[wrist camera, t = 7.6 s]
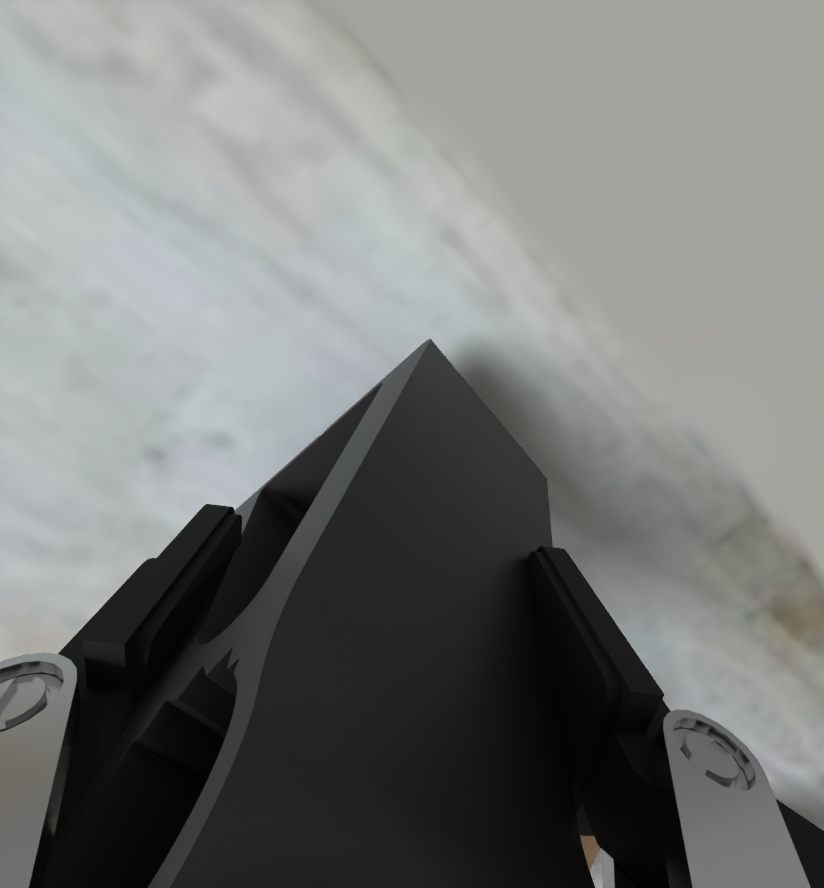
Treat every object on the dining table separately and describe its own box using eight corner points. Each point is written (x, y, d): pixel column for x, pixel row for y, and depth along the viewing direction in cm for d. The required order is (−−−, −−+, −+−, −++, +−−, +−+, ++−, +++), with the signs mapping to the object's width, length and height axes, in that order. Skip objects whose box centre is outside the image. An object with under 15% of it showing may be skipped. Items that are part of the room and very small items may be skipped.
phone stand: (430, 336, 13) (764, 676, 1) (543, 474, 14) (1120, 1149, 3) (227, 514, 14) (-409, 1351, 3) (349, 619, 16) (243, 1411, 5)
